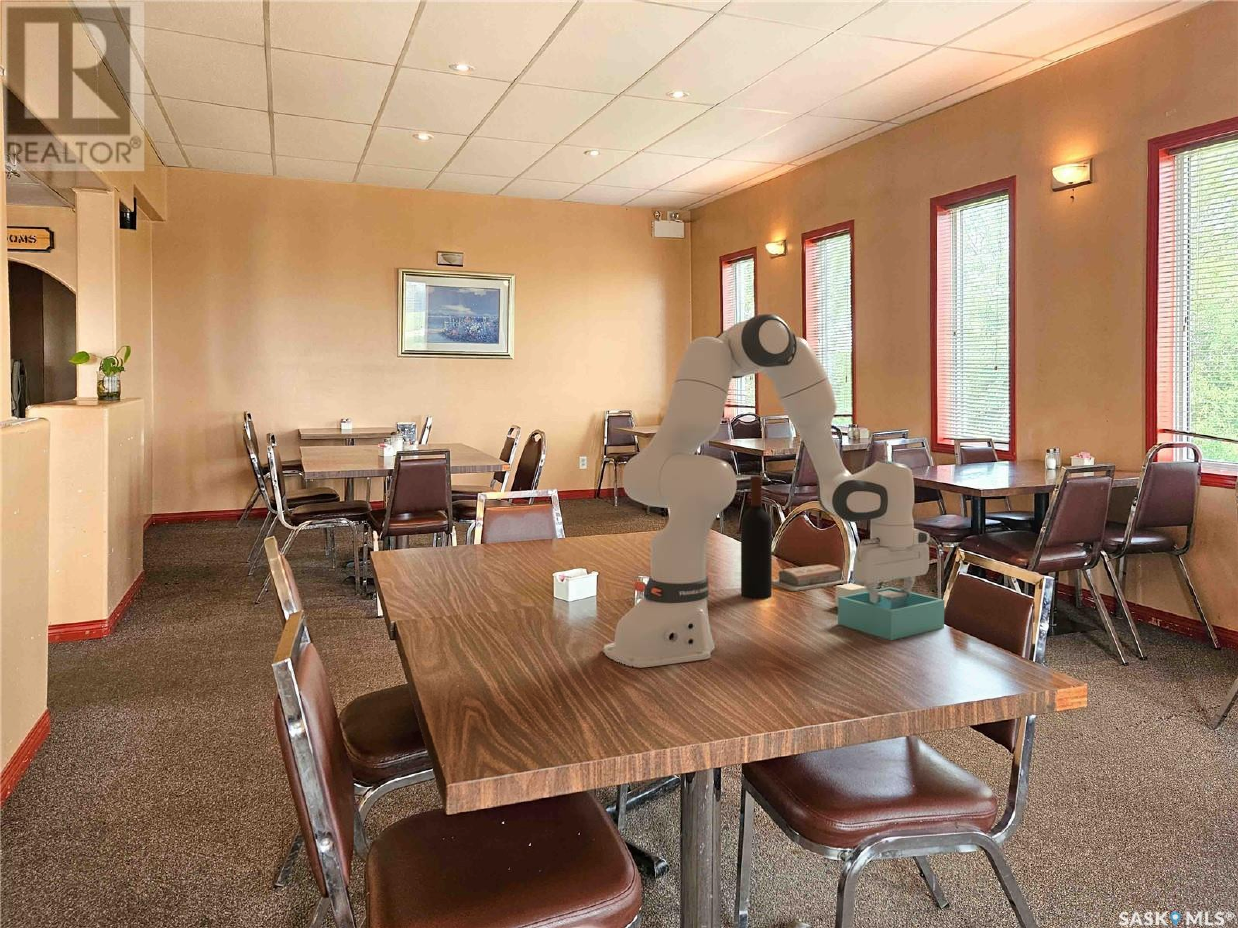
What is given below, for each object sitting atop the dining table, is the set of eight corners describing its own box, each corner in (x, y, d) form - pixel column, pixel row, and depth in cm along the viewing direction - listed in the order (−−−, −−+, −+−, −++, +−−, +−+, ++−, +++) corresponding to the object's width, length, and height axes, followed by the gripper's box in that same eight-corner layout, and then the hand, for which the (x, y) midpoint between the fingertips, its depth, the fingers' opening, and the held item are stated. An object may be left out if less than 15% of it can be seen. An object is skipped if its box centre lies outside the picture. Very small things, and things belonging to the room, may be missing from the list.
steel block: (890, 625, 178) (891, 597, 178) (872, 620, 182) (872, 593, 182) (906, 621, 181) (907, 594, 180) (888, 616, 185) (888, 590, 184)
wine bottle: (737, 597, 208) (737, 477, 205) (745, 591, 215) (744, 474, 212) (768, 600, 205) (768, 478, 202) (774, 593, 212) (774, 475, 209)
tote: (891, 640, 171) (891, 611, 171) (837, 623, 183) (838, 597, 183) (943, 627, 180) (944, 599, 179) (889, 612, 192) (890, 587, 192)
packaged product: (822, 561, 230) (848, 567, 221) (822, 578, 230) (847, 585, 221) (769, 567, 222) (793, 574, 213) (769, 585, 222) (793, 593, 213)
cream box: (851, 611, 194) (851, 590, 194) (835, 606, 199) (835, 585, 198) (866, 608, 197) (866, 587, 197) (850, 603, 201) (850, 583, 201)
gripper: (869, 542, 172) (868, 609, 173) (935, 533, 182) (933, 596, 183) (846, 538, 177) (845, 602, 178) (911, 530, 188) (910, 590, 189)
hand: (890, 599), depth 181 cm, fingers open, 8 cm apart
